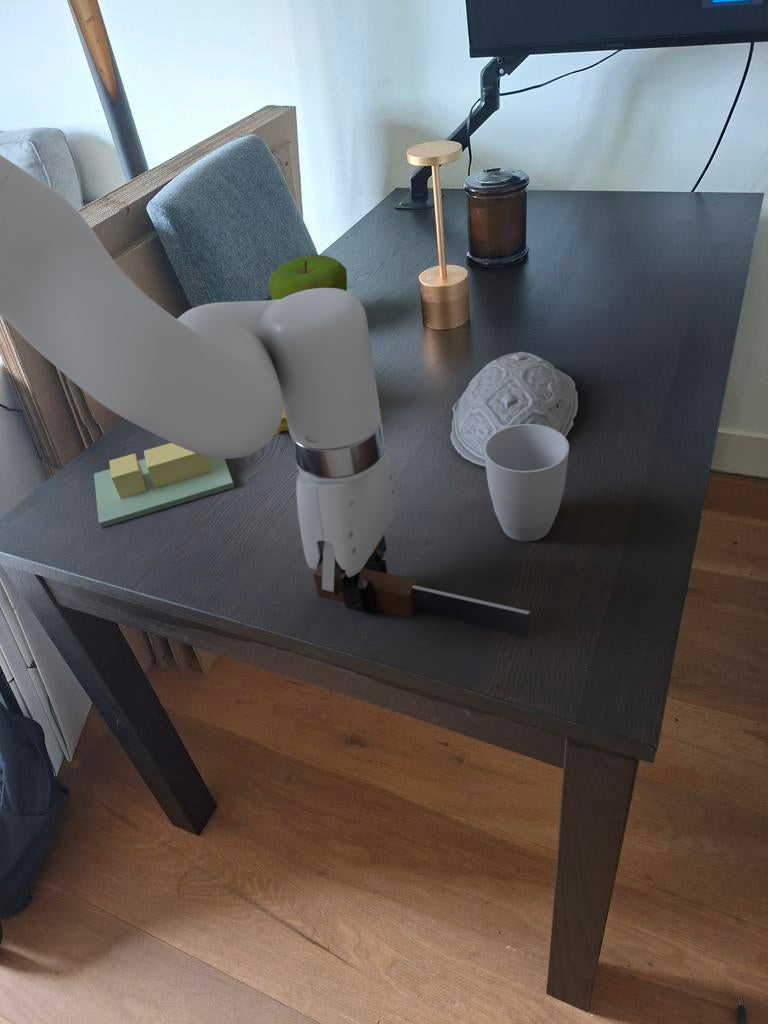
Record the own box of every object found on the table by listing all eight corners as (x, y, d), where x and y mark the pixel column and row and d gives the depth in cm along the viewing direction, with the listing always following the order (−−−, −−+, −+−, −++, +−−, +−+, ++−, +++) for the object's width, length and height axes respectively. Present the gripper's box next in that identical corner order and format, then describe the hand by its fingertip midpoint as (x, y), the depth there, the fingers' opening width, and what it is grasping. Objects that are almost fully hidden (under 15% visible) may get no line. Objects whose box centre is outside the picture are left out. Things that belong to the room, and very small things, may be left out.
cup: (577, 513, 80) (582, 434, 74) (546, 560, 75) (548, 480, 69) (507, 494, 84) (506, 417, 78) (473, 538, 79) (469, 459, 73)
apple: (282, 316, 128) (268, 250, 121) (354, 307, 127) (344, 240, 120) (276, 351, 118) (260, 281, 111) (354, 341, 118) (343, 270, 111)
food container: (586, 363, 103) (582, 318, 98) (564, 481, 86) (559, 433, 81) (474, 369, 108) (467, 326, 104) (433, 481, 91) (422, 436, 87)
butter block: (155, 488, 92) (146, 467, 90) (151, 471, 95) (143, 450, 93) (211, 471, 93) (205, 450, 91) (206, 455, 96) (199, 434, 94)
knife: (318, 595, 75) (312, 572, 73) (328, 580, 77) (322, 557, 75) (525, 646, 67) (525, 621, 65) (532, 628, 69) (532, 603, 67)
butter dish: (101, 528, 88) (98, 523, 88) (95, 478, 96) (93, 473, 96) (234, 487, 91) (233, 482, 91) (218, 442, 100) (217, 437, 99)
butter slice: (120, 499, 91) (111, 477, 89) (117, 481, 94) (109, 460, 92) (147, 491, 91) (138, 469, 89) (143, 474, 94) (135, 452, 92)
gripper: (341, 388, 69) (367, 539, 81) (249, 493, 58) (295, 650, 70) (416, 398, 67) (433, 552, 78) (335, 509, 56) (368, 670, 67)
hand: (367, 597), depth 74 cm, fingers closed on knife, 2 cm apart
